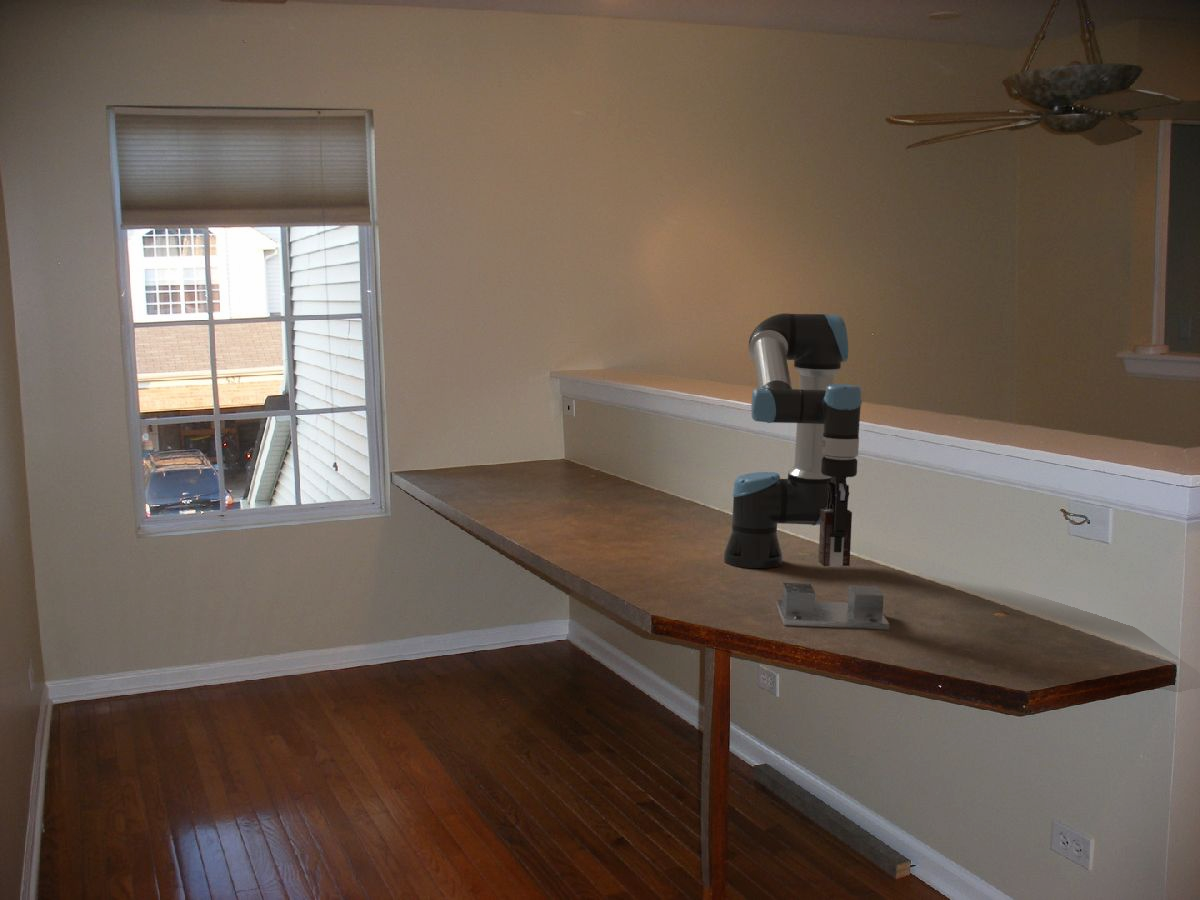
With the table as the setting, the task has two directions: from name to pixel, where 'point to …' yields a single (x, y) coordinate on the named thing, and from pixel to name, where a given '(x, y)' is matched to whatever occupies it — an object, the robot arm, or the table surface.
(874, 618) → the wall mount bracket
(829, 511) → the box
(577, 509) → the table surface
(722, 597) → the table surface
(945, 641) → the table surface
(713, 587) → the table surface
